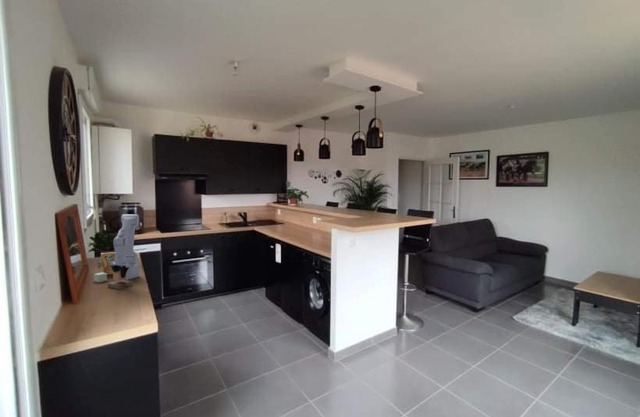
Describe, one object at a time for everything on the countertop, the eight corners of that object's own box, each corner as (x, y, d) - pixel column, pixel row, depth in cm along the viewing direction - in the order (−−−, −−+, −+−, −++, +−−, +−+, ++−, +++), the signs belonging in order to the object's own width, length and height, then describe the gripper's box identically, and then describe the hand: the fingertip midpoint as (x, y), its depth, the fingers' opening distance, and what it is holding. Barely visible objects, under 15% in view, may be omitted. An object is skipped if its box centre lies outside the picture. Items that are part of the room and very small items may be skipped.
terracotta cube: (120, 278, 194) (120, 270, 194) (126, 279, 192) (126, 271, 192) (113, 280, 189) (113, 272, 189) (118, 281, 187) (118, 273, 187)
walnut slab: (121, 284, 197) (121, 279, 197) (131, 286, 194) (131, 281, 194) (107, 287, 188) (107, 283, 188) (118, 290, 185) (118, 285, 185)
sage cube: (101, 279, 203) (101, 272, 203) (106, 280, 202) (106, 273, 201) (93, 281, 199) (93, 274, 198) (99, 282, 197) (99, 275, 197)
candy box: (115, 272, 220) (115, 251, 220) (116, 273, 217) (116, 252, 216) (100, 274, 215) (100, 252, 214) (101, 275, 212) (101, 254, 211)
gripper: (105, 255, 189) (105, 277, 189) (122, 258, 184) (122, 280, 185) (116, 253, 195) (116, 274, 196) (133, 256, 190) (132, 277, 191)
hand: (120, 277), depth 191 cm, fingers closed on terracotta cube, 5 cm apart
